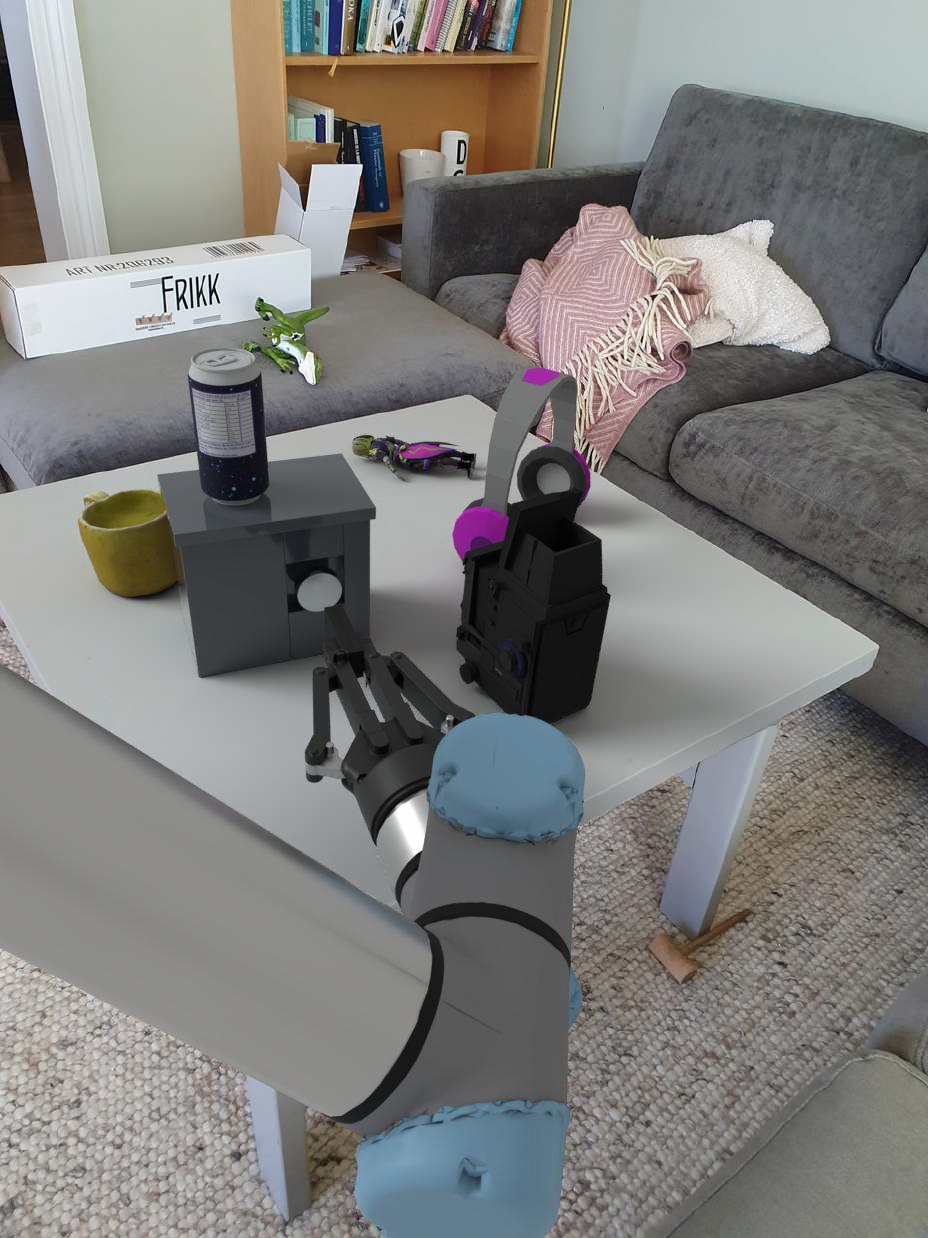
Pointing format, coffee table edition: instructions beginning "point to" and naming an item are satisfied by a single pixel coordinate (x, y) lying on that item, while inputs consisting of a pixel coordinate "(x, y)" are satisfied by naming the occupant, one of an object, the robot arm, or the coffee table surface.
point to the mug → (129, 541)
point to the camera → (535, 611)
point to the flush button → (317, 588)
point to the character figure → (412, 454)
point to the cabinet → (268, 561)
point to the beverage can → (229, 425)
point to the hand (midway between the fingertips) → (333, 619)
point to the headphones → (540, 468)
